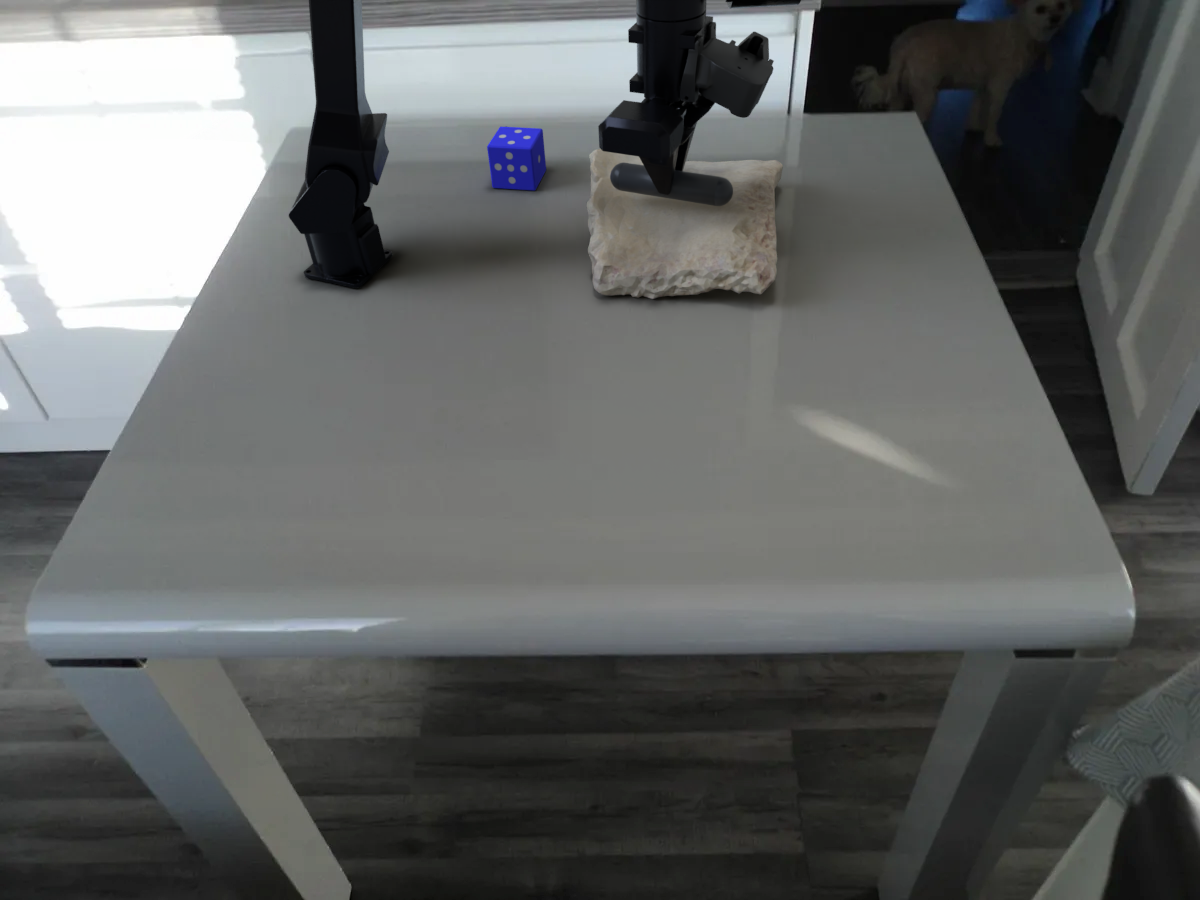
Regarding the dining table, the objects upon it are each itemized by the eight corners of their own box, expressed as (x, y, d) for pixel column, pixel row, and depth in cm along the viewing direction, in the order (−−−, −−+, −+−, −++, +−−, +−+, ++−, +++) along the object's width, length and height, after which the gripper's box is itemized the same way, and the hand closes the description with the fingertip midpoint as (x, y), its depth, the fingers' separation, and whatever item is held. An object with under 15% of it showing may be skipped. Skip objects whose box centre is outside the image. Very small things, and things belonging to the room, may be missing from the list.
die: (535, 191, 100) (531, 148, 97) (492, 188, 101) (486, 145, 97) (546, 170, 104) (542, 128, 100) (504, 167, 104) (499, 125, 101)
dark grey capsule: (606, 193, 87) (605, 168, 85) (616, 181, 88) (615, 156, 86) (727, 213, 83) (729, 186, 81) (735, 200, 85) (737, 174, 83)
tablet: (559, 303, 85) (775, 303, 81) (546, 231, 81) (775, 226, 76) (610, 188, 103) (789, 183, 98) (601, 123, 98) (790, 114, 94)
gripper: (732, 62, 66) (722, 251, 76) (796, -18, 78) (779, 155, 89) (591, 47, 69) (600, 229, 80) (673, -27, 81) (672, 140, 92)
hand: (669, 186), depth 85 cm, fingers closed on dark grey capsule, 2 cm apart
